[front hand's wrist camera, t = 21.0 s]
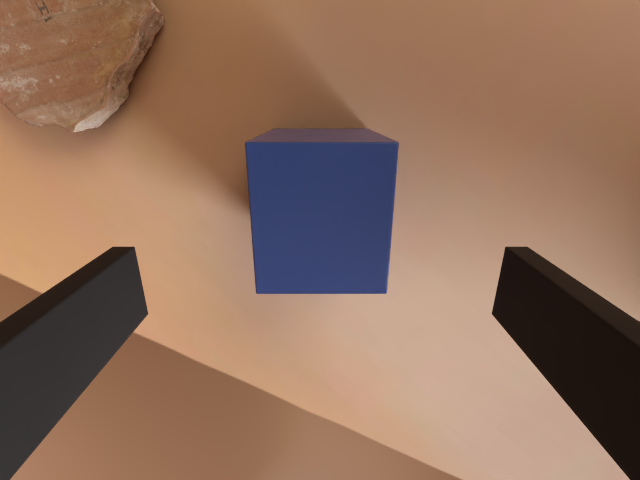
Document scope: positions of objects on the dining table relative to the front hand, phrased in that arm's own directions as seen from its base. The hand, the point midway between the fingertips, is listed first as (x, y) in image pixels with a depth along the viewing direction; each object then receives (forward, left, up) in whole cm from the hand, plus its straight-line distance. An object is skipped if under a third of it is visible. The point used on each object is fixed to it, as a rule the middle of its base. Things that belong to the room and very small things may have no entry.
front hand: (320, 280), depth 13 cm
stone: (-21, -6, -17) cm, 28 cm away
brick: (0, 0, -17) cm, 17 cm away
